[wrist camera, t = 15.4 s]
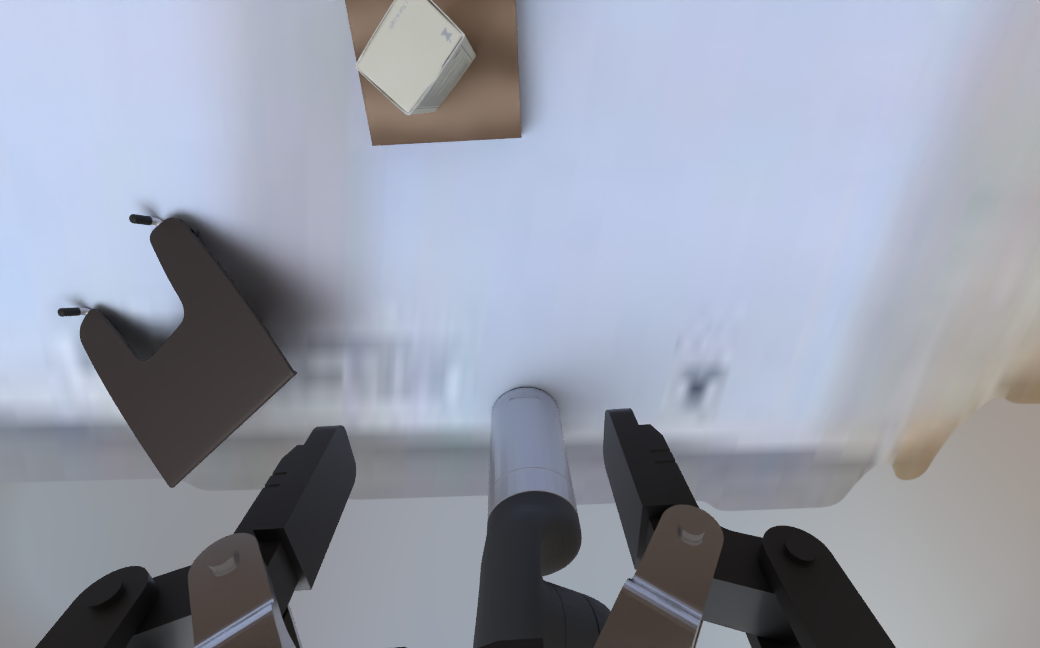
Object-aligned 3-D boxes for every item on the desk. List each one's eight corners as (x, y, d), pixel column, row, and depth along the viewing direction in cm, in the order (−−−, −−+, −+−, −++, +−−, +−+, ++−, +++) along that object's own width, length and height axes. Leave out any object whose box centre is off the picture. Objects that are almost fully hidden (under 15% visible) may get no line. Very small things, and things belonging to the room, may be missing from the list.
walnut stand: (520, 136, 42) (521, 137, 40) (380, 143, 42) (372, 145, 39) (513, -14, 37) (514, -24, 34) (354, -6, 37) (342, -15, 34)
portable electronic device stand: (233, 205, 50) (147, 189, 41) (343, 360, 48) (277, 378, 39) (134, 321, 56) (41, 329, 47) (228, 463, 54) (149, 498, 45)
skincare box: (438, 15, 35) (409, -30, 24) (479, 57, 37) (469, 32, 26) (394, 79, 37) (349, 64, 26) (435, 117, 38) (408, 117, 28)
